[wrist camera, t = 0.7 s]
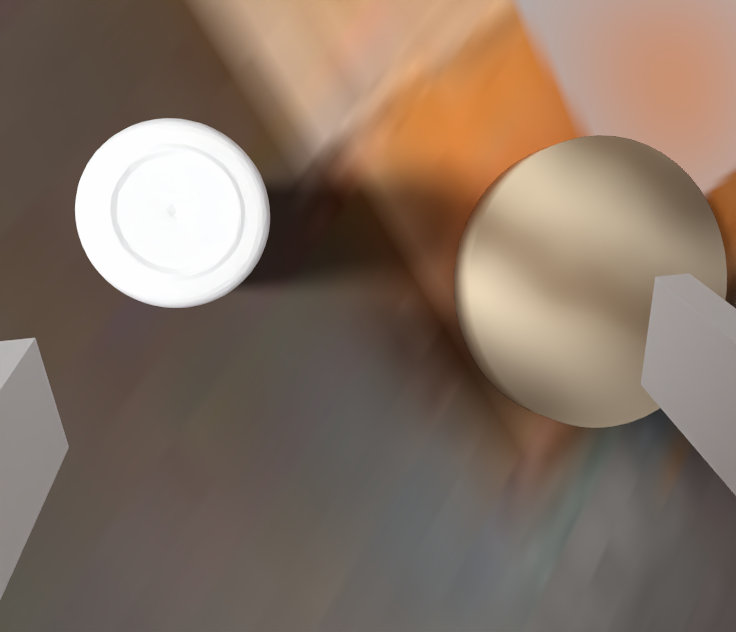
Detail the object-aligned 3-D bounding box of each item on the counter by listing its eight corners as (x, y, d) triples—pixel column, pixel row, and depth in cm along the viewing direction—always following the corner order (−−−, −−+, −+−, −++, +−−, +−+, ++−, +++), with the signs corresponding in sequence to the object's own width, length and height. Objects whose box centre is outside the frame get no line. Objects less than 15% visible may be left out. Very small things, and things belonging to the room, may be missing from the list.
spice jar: (230, 297, 30) (268, 313, 17) (118, 292, 29) (67, 305, 16) (236, 190, 30) (277, 125, 17) (122, 180, 29) (75, 102, 16)
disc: (492, 106, 33) (522, 89, 30) (713, 201, 36) (759, 194, 33) (408, 373, 32) (430, 383, 30) (639, 444, 36) (680, 458, 33)
